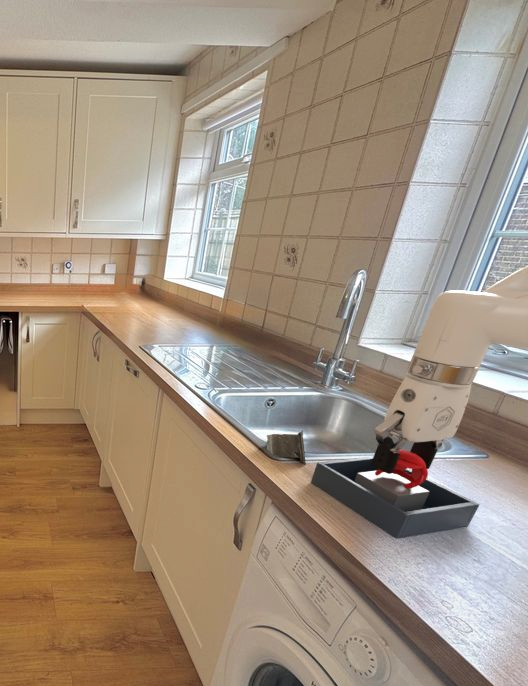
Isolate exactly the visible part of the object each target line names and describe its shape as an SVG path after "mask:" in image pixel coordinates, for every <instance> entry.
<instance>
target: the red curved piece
mask: <svg viewBox="0 0 528 686" xmlns="http://www.w3.org/2000/svg"><path fill="white" fill-rule="evenodd" d="M398 453H400V457H399V459H398V461H397V464H396V466H395V469H394V471H393V474H397V475H400V476H403V477H405V478H406V479H408V480H410V481H411V482H410V483H407V484H404V487H405V488H407V489H408V488H414V487H417V486H419V485H420V484H422V483H423V482H424V481H425V480H426V478H428V476H429V471H428V469H426V464H425V462H424V460H423V459H422V458H421V457H419V456H418V455H416V454H414V453H412V452H410V451H409V450H404V449H400V450H399V451H398ZM406 468H408V469H410V470H412V476H411V475H410V474H408V473H406V472H403V471H404V470H405V469H406ZM381 473H383V471H382V470H380V469H379V470H377V471H376V472H375V475H376V476H378V475H380V474H381Z"/></svg>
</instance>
